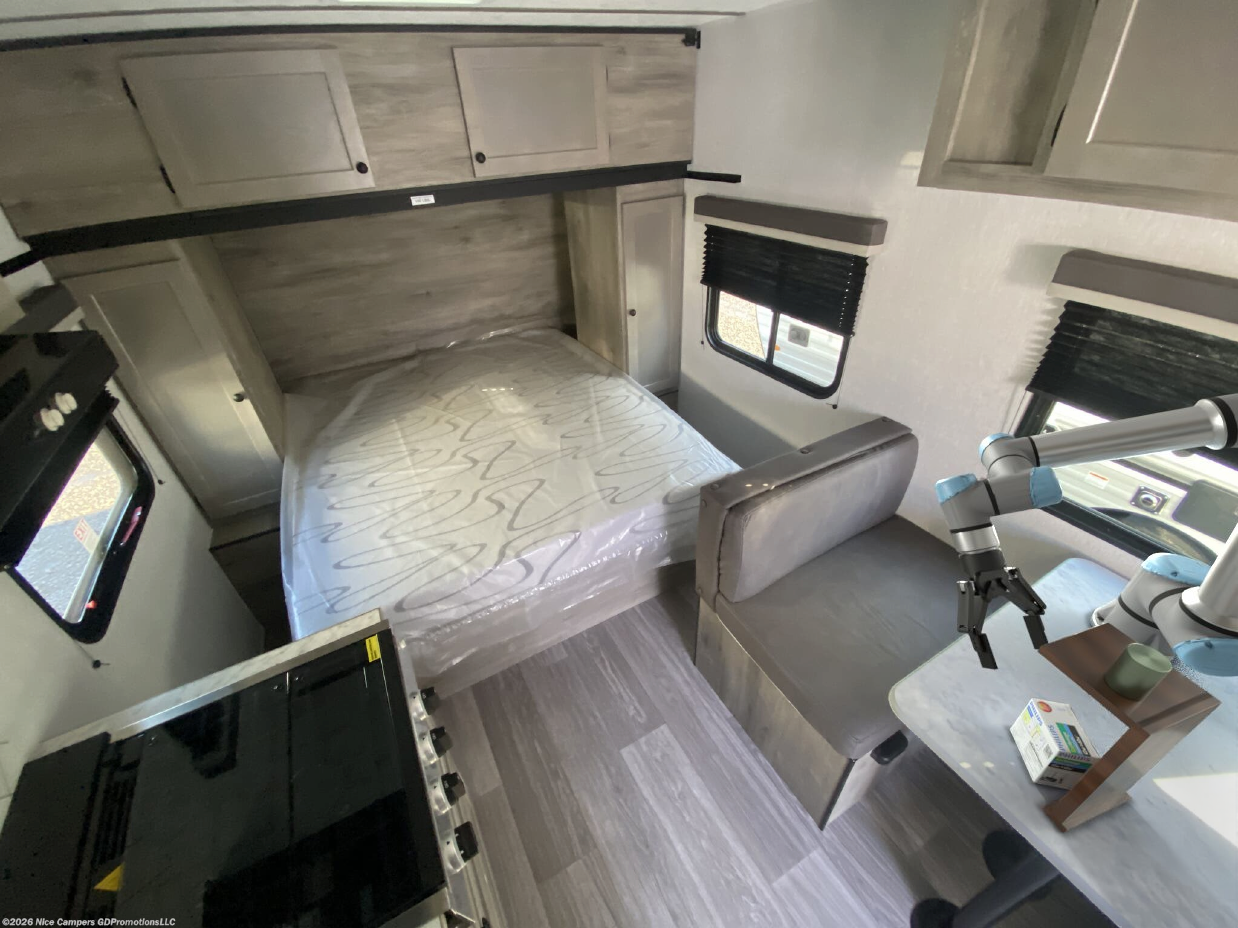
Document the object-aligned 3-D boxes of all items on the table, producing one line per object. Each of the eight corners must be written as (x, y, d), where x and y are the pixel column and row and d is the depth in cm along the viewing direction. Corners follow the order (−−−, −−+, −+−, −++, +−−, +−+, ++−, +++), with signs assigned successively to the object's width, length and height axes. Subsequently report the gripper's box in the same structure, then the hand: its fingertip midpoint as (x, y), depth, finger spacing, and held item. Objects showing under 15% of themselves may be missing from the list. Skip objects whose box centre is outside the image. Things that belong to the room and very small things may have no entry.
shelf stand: (1036, 715, 105) (1129, 593, 86) (1128, 801, 91) (1263, 679, 72) (977, 739, 101) (1060, 617, 82) (1064, 833, 87) (1188, 713, 68)
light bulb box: (1073, 791, 93) (1104, 760, 87) (1032, 783, 94) (1059, 752, 88) (1045, 734, 101) (1070, 702, 96) (1007, 728, 103) (1030, 696, 97)
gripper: (1007, 539, 109) (1044, 640, 106) (914, 564, 103) (950, 673, 99) (1043, 535, 102) (1083, 643, 98) (945, 562, 96) (984, 679, 92)
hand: (1016, 658), depth 99 cm, fingers open, 13 cm apart
